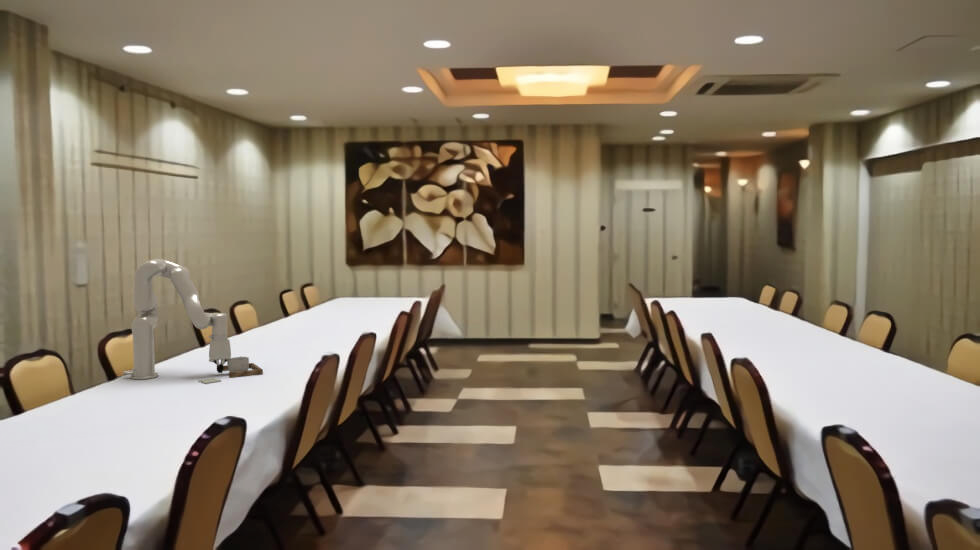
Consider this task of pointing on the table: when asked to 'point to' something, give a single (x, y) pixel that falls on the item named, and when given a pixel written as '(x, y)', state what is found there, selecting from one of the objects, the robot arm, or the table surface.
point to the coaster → (209, 381)
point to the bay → (255, 371)
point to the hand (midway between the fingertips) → (220, 372)
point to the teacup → (238, 364)
